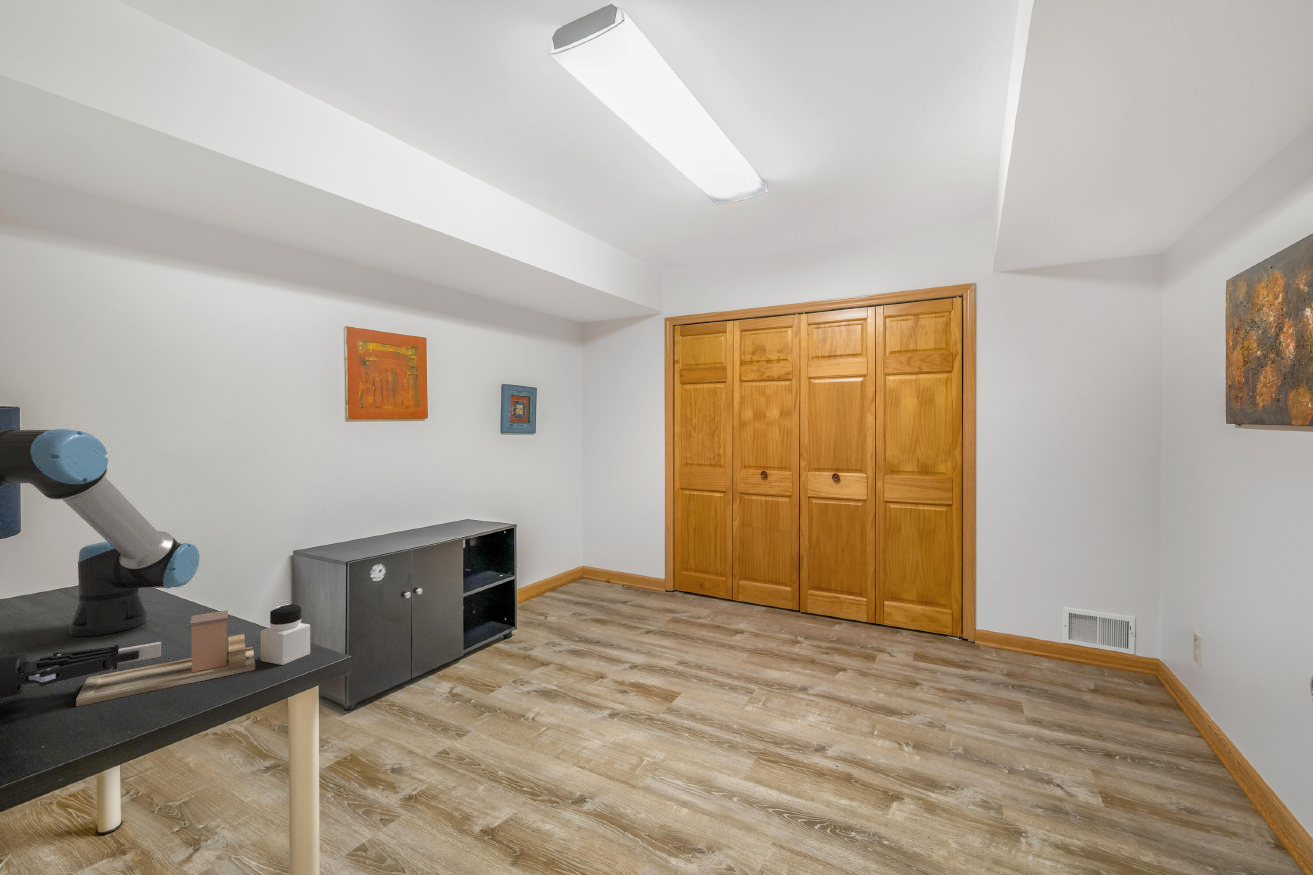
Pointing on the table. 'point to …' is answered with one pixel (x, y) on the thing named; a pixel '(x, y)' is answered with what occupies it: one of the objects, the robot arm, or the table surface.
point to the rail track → (164, 675)
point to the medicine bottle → (285, 636)
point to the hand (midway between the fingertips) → (160, 648)
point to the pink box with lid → (209, 640)
